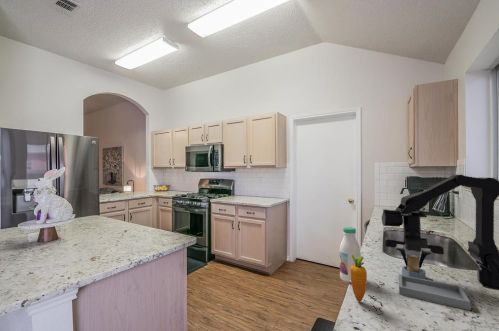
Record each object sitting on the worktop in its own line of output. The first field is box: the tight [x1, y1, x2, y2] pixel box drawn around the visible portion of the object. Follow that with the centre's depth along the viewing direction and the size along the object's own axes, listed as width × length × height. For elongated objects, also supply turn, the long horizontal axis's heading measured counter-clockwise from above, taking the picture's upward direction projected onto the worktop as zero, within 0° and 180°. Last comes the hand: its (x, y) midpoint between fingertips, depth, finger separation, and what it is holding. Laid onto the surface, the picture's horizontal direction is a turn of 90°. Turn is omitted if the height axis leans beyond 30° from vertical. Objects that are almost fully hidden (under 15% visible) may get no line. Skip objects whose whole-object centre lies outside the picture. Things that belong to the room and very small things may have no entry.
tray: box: [398, 273, 472, 311], centre depth 78 cm, size 18×12×2 cm, turn 57°
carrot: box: [350, 255, 368, 303], centre depth 74 cm, size 5×5×15 cm
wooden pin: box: [406, 254, 420, 273], centre depth 92 cm, size 4×4×8 cm
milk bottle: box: [339, 226, 362, 284], centre depth 90 cm, size 8×8×20 cm
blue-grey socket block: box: [401, 265, 427, 280], centre depth 92 cm, size 8×8×3 cm
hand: (413, 266), depth 92 cm, fingers closed on wooden pin, 4 cm apart
